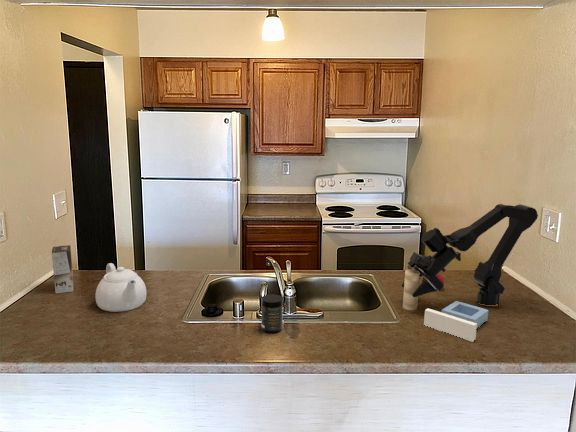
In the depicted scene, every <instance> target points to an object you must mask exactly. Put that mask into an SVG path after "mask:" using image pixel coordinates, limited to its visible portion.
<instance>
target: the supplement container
mask: <svg viewBox="0 0 576 432" xmlns="http://www.w3.org/2000/svg"><path fill="white" fill-rule="evenodd" d="M260 304H261V330H262V331H263V332H265V333H268V334H277V333H280V332H281V331H282V330H283V317H284V316H283V309H284V306H283V305H284V297H283V296H281V295H279V294H271V293H270V294H266V295H263V296H261V303H260Z"/></svg>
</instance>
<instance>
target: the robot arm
mask: <svg viewBox="0 0 576 432" xmlns="http://www.w3.org/2000/svg"><path fill="white" fill-rule="evenodd" d="M538 217H539V214H538V211H537V209H536V208H535V207H532V206H529V205H524V204H520V203H519V204H517V205H510V204H503V203H499V204H496V205H495V206H494V208H492V209H491V210H489V211H488V212H486V213H485V214H484V215H483V216H481V217H480V218H478V219H477V220H476V221H474V222H473V223H471V224H470V225H468V226H465V227H462V228H459V229H457V230H455V231H453V232H452V233H450V234H447V235H446V234H445V235H443V233H442V232H441V231H440V229H439V228H437V227H434V228H433V229H430V230H428V231H426V232H424V234H422V235H421V237H420V238H421V239H420V240H421V242H422V243H423V244H424V245H425V246H426V247H427V248H428V249H429V250H430V251H431V252H432V253H434V254H433V255H425V254H423V255H422V254H420V253H417V252H416V251H413V252H412V254H411V256H410V258H409V262H407V263H406V264H407V270H409V269H412V270H417V271H419V272H420V279H419V280H421V277H422V282H421V283H420V284H419V287H418V288H417V289H416V290H415V292H414V293H413V294H412V296H413V297H417V296H418V297H420V296H423V295H425V294H429V293H432V292H433V293H434V292H437V291H438V292H441V291H442V290H443V289H444V287H445V284H443V283H442V282H441V281H440V280H439V278H438V277H437V275H438V274H439V273H441V272H443V273H444V272H445V271H446V267H448V265H450V263H451V262H452V261H453V260H457V262H461V260H462V259H461V258H462V257H461V255H462V253H461V252H467V251H468V250H470V249H471V247H473V246H474V245H475V244H476V241H477V240H478V238H480V236H482V235H483V234H485V233H486V232H487V231H489V230H490V229H491V228H493V227H494V226H496V225H497V224H498V223H499V222H501V221H502V220H504V219H505V218H508V226H507V227H506V229H505V231H504V233H503V234H502V236H501V238H500V239H499V241H498V242H497V245H496V246H495V248H494V249H493V251H492V253H491V255H490V257H489V258H488V260H487V261H485V262H482V261H479V263H478V265H477V267H476V268H475V269H474V271H473V272H474V274H473V278H474V280H475V281H474V282H476V284H477V286H478V287H480V288H479V290H478V291H479V292H478V293H477V299H476V303H477V302H478V303H480V304H485V305H496V304H500V298H501V296H500V295H501V294H503V293H504V291H505V290H506V289H505V287H504V286H503V285H502V283H500V280H501V277H502V267H503V265H504V263H505V262H506V261H507V259H508V257H509V256H510V254H511V252H512V250H513V248H514V247H515V245H516V244H517V242H518V240H519V238H521V236H522V234H523V232H525V231H526V230H528V229H530V228H531V227H532V226H533V224H535V222H536V221H537V220H538ZM455 249H456V250H458V251H456V250H455ZM459 251H460V252H459ZM404 281H405V279H404ZM404 281H403V282H402V284H401V287H402V288H403V289H404ZM478 303H477V304H478Z"/></svg>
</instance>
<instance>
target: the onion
mask: <svg viewBox="0 0 576 432" xmlns="http://www.w3.org/2000/svg"><path fill="white" fill-rule="evenodd" d="M437 277H438V278H439V280H440V281H441V282H442V283H443V284H444V283H445V277H444V275H443V274H442V273H441V272H440V273H439V274H438V275H437ZM444 285H445V284H444Z"/></svg>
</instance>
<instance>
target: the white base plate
mask: <svg viewBox="0 0 576 432" xmlns="http://www.w3.org/2000/svg"><path fill="white" fill-rule="evenodd" d="M424 325H425V326H424ZM423 326H424V327H427V326H428V327H427V328H430V327H431V329H433V328H434V329H433V330H437V331H439V332H442V331H443V332H442V333H444V332H446V333H445V334H447V333H449V334H448V335H450V334H451V336H453V335H454V337H456V336H457V338H459V337H460V338H459V339H462V338H463V340H466V341H469V342H470V343H473V342H474V340H475V341H476V338H477V330H478V329H477V323H474V322H471V321H467V320H464V319H461V318H458V317H455V316H451V315H448V314H445V313H442V311H437V310H434V309H431V308H428V307H427V308H426V309H425V310H424V318H423ZM476 329H477V330H476Z"/></svg>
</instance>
